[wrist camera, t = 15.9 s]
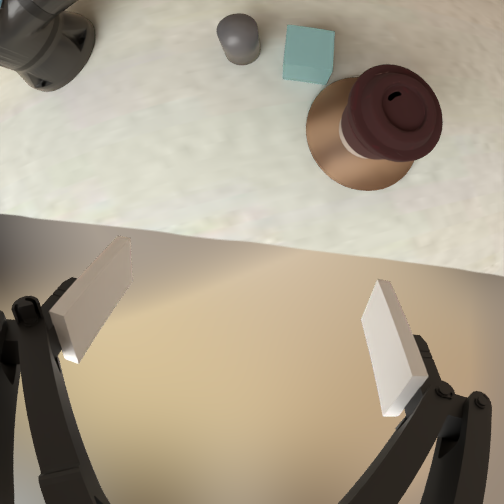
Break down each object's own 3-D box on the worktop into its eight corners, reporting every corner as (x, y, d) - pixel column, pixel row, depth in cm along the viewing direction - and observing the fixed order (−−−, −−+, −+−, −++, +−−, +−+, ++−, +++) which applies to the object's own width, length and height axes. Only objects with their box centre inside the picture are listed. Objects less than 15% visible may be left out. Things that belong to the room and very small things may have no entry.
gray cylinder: (218, 50, 39) (208, 29, 32) (244, 30, 38) (239, 7, 31) (240, 71, 40) (234, 52, 33) (267, 51, 39) (266, 29, 32)
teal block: (282, 79, 40) (283, 63, 34) (286, 43, 38) (287, 24, 32) (325, 85, 39) (332, 70, 33) (328, 49, 38) (334, 31, 32)
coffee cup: (398, 171, 40) (453, 165, 25) (328, 166, 40) (356, 155, 26) (395, 102, 38) (444, 68, 23) (327, 95, 38) (350, 51, 24)
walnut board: (281, 123, 41) (281, 121, 40) (364, 60, 38) (366, 58, 37) (356, 214, 42) (359, 214, 41) (433, 147, 39) (437, 146, 38)
